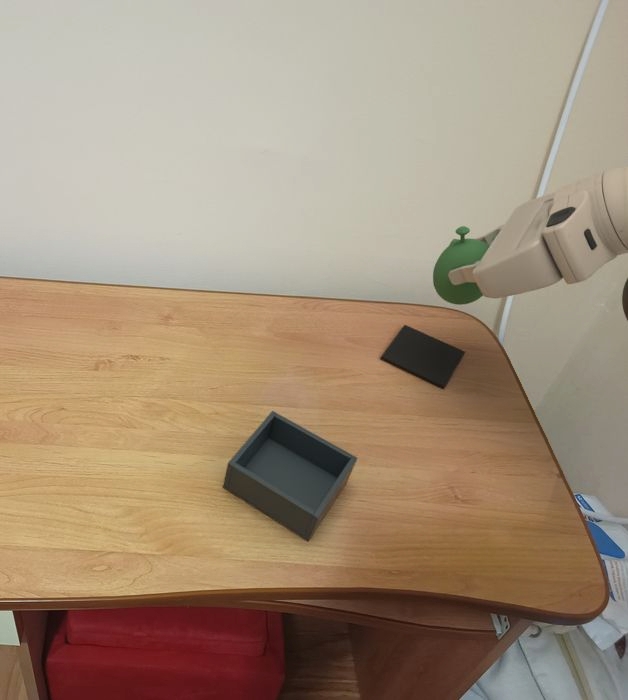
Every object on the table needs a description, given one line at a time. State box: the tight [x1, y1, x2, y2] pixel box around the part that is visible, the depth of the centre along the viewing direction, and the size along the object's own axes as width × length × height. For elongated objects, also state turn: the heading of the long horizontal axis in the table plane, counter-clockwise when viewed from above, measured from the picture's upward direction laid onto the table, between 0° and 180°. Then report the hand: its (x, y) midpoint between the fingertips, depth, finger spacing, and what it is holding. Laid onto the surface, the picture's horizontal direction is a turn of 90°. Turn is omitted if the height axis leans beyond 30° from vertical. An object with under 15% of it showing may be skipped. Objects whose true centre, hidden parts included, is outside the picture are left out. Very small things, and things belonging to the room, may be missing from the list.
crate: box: [222, 410, 358, 542], centre depth 69 cm, size 11×10×4 cm
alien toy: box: [432, 225, 496, 306], centre depth 78 cm, size 7×8×10 cm
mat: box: [379, 324, 466, 390], centre depth 88 cm, size 9×9×1 cm
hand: (462, 262), depth 77 cm, fingers closed on alien toy, 7 cm apart
